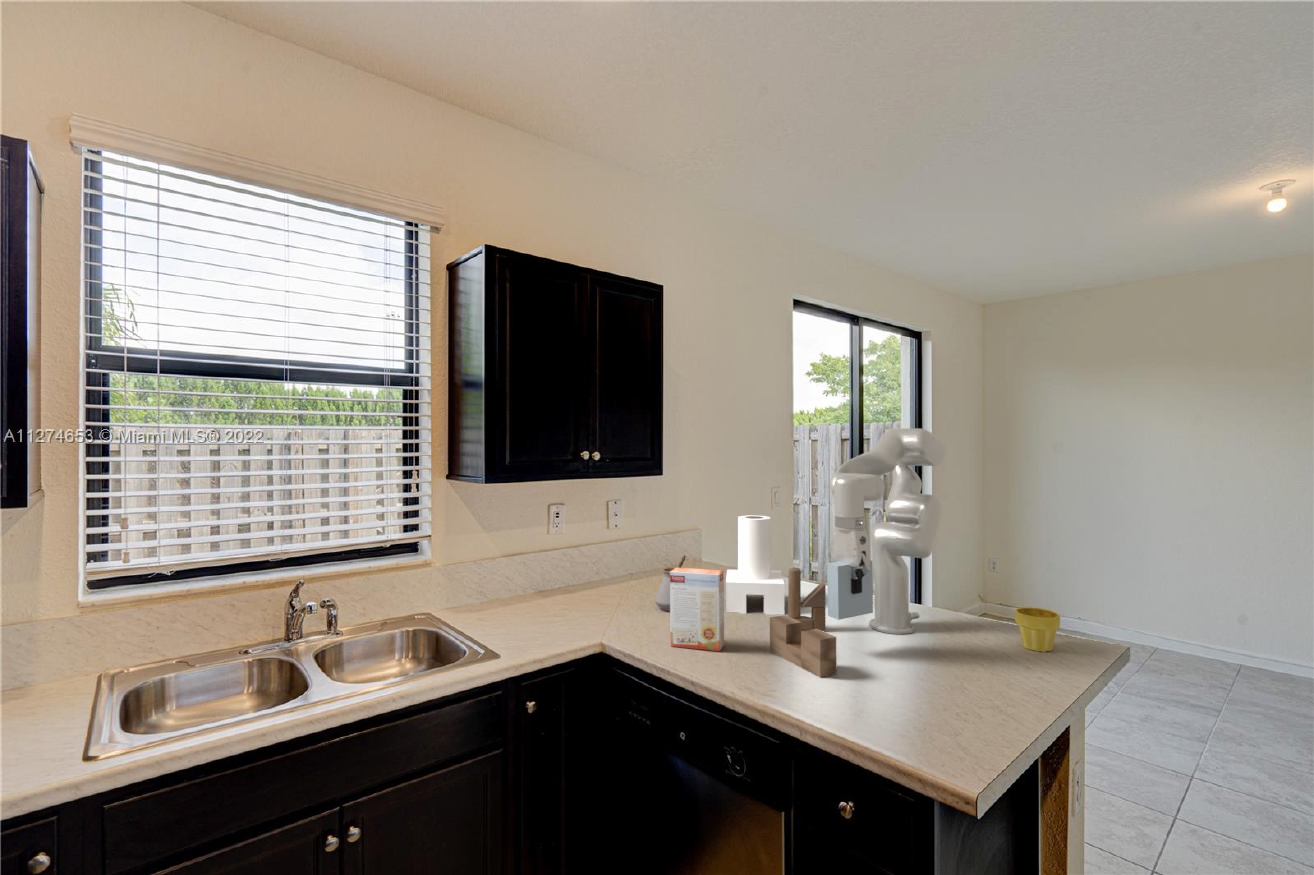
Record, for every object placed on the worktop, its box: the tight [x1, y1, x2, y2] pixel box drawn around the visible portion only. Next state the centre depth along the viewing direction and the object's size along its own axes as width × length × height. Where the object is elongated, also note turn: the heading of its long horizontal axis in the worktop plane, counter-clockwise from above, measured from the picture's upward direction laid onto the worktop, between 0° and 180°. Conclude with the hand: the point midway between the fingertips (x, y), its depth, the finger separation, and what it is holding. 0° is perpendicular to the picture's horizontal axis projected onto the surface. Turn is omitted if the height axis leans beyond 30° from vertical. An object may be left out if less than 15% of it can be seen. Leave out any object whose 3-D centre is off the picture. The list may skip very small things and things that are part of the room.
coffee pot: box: [654, 554, 689, 612], centre depth 210 cm, size 21×12×15 cm, turn 160°
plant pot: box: [1014, 606, 1061, 653], centre depth 167 cm, size 10×10×10 cm
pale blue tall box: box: [826, 559, 874, 621], centre depth 164 cm, size 12×4×14 cm, turn 116°
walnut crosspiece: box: [769, 614, 837, 678], centre depth 157 cm, size 5×20×9 cm, turn 26°
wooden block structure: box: [787, 567, 826, 632], centre depth 183 cm, size 4×11×18 cm, turn 86°
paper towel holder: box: [725, 514, 785, 615], centre depth 208 cm, size 19×19×30 cm
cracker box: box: [669, 567, 725, 652], centre depth 169 cm, size 14×6×21 cm, turn 71°
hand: (850, 590), depth 164 cm, fingers closed on pale blue tall box, 4 cm apart
